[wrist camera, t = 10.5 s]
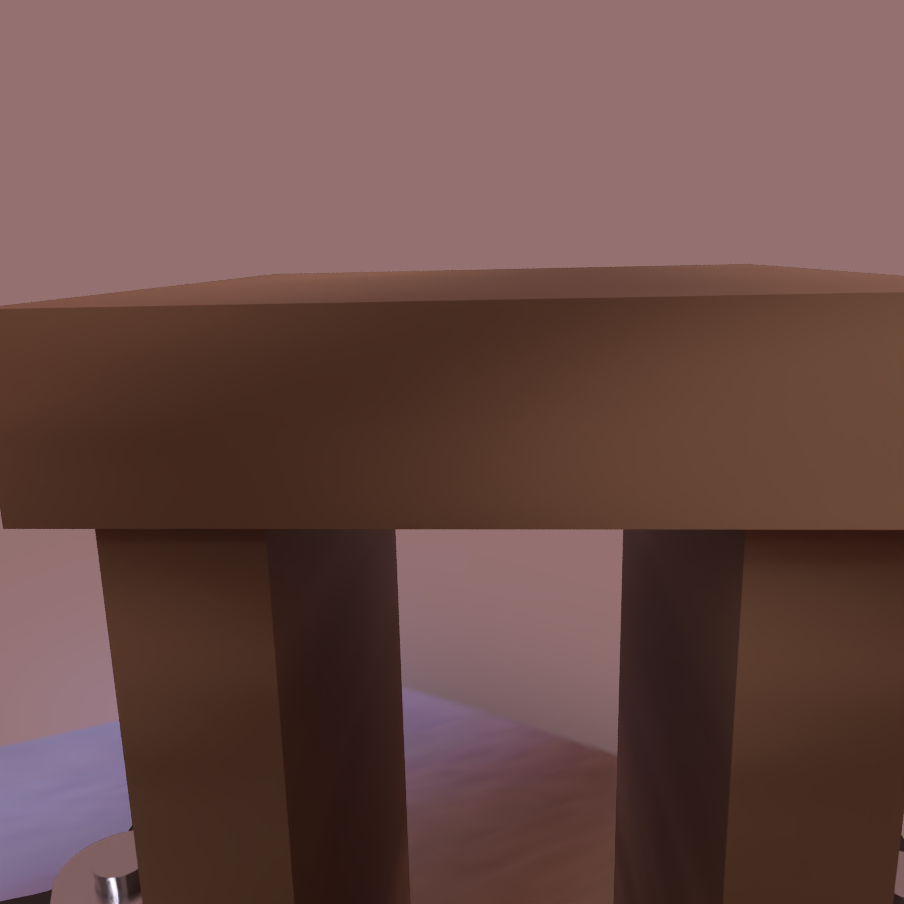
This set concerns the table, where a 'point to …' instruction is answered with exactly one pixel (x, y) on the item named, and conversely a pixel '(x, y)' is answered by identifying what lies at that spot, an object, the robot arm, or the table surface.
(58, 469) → the stool
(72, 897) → the robot arm
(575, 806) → the table surface
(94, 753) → the table surface
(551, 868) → the table surface
